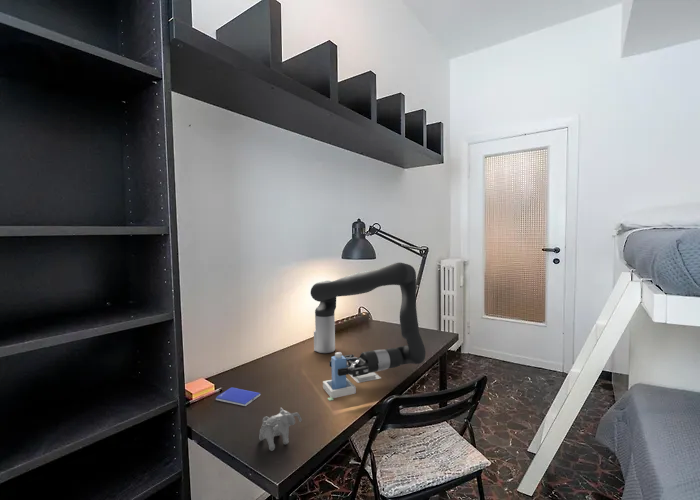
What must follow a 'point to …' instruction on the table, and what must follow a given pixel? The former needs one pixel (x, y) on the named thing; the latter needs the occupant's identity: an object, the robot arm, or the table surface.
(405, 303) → the robot arm
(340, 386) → the blue square bottle
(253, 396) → the hard drive
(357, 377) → the white square tray
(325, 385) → the frame
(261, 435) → the elephant statuette
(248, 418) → the table surface
